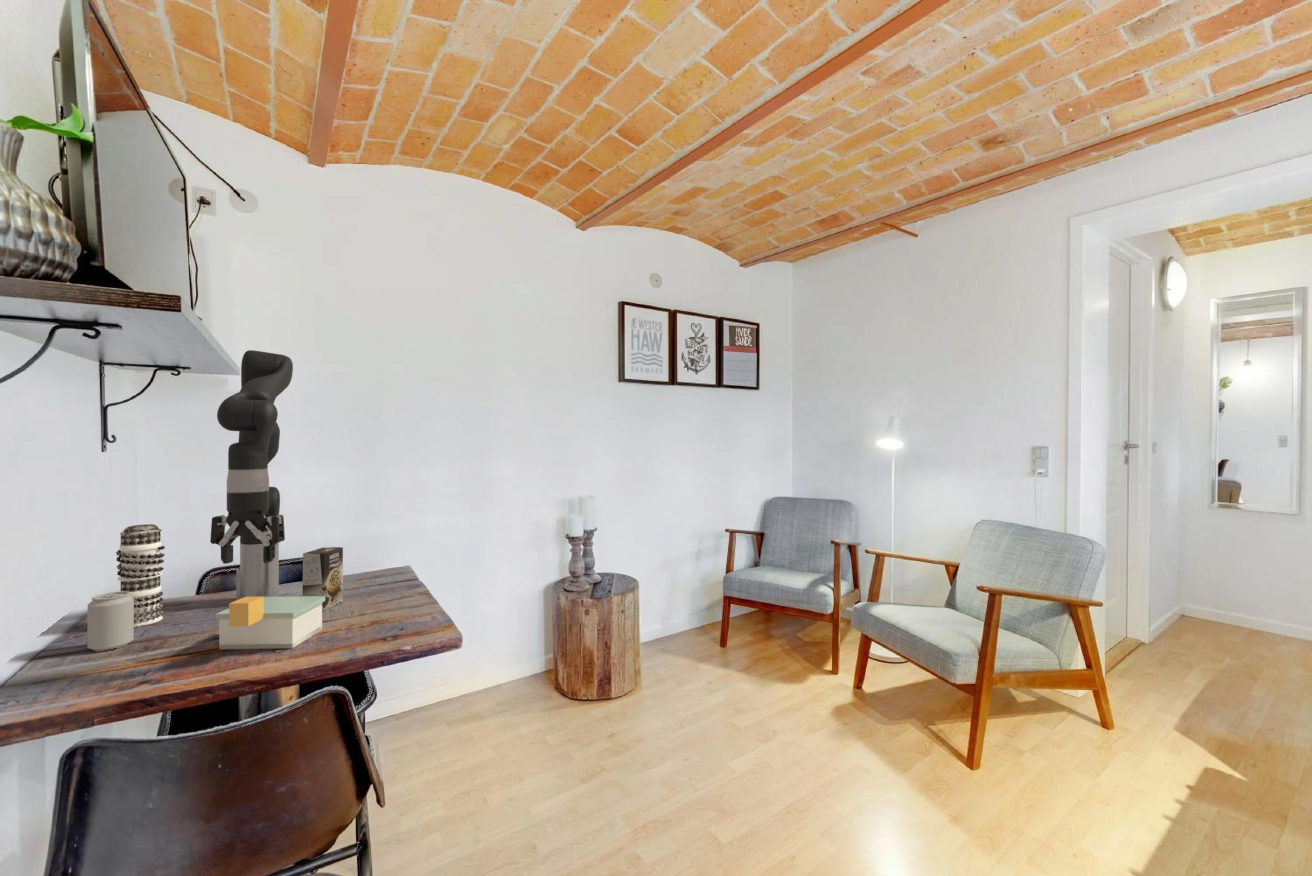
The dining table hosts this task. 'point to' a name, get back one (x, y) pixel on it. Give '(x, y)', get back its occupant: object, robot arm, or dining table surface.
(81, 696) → the dining table surface
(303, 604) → the lid
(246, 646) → the tub
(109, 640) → the can
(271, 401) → the robot arm
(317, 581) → the coffee box
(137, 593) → the decorative candle
